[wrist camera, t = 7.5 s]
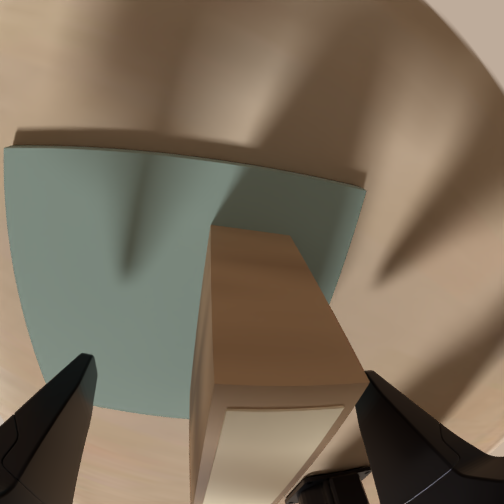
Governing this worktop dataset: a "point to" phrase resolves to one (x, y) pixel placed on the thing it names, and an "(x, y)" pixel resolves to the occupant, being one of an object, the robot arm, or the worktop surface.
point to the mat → (147, 255)
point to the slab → (263, 371)
